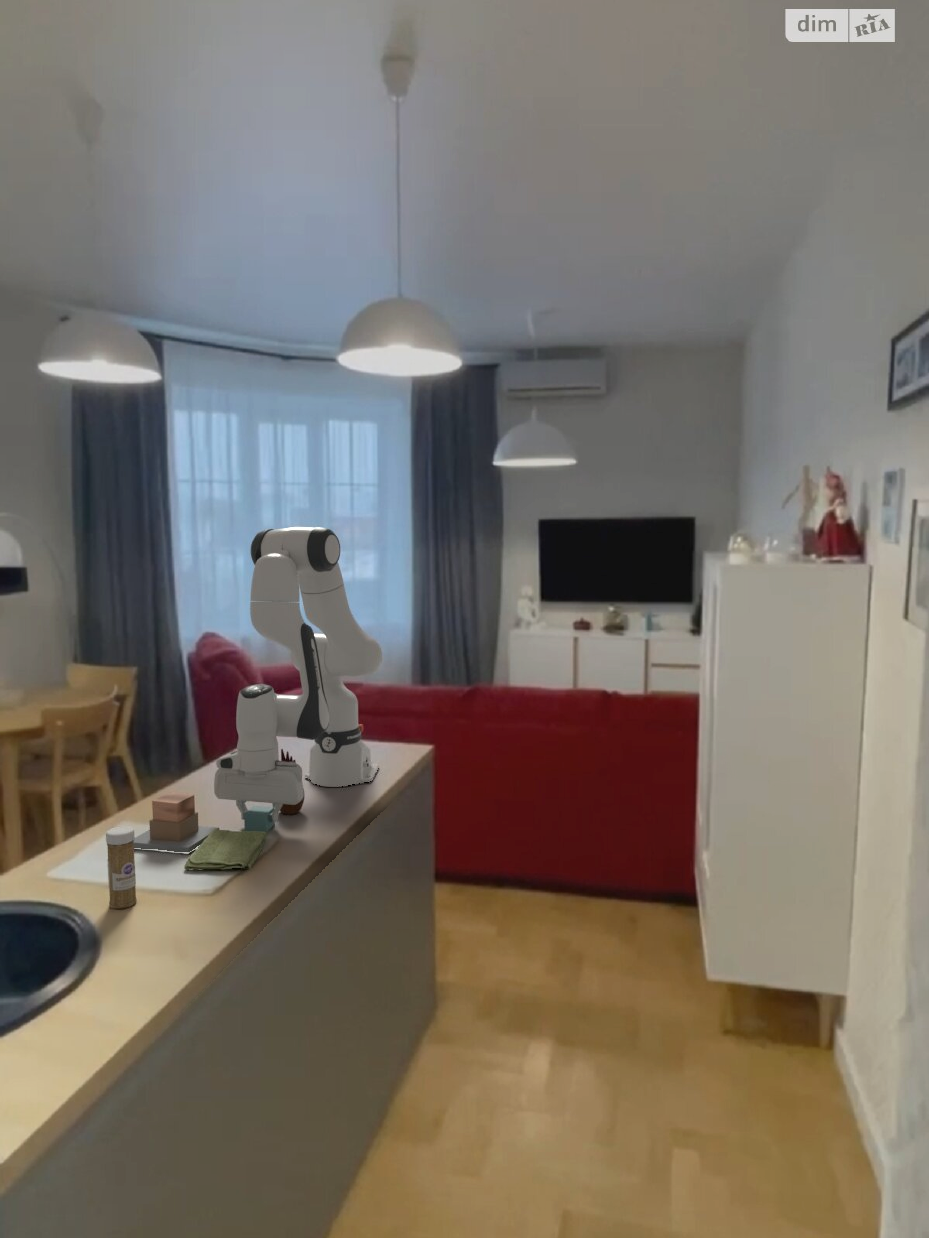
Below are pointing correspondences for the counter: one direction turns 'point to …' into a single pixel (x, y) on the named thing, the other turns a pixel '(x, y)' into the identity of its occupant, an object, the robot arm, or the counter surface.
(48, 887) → the counter surface
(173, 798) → the brick
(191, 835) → the baseplate
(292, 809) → the wooden figurine
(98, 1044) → the counter surface
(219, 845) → the washcloth
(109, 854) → the sprinkles bottle
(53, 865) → the counter surface
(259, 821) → the brick
